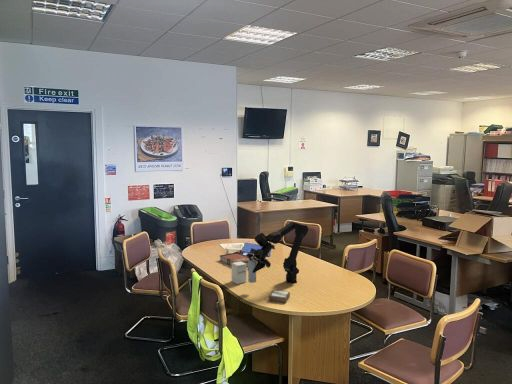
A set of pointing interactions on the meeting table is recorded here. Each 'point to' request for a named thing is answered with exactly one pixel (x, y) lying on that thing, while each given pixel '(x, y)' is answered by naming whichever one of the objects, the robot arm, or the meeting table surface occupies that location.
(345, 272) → the meeting table surface
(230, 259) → the book
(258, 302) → the meeting table surface
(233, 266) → the supplement box
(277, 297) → the foundation block
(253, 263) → the slate pillar
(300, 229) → the robot arm
